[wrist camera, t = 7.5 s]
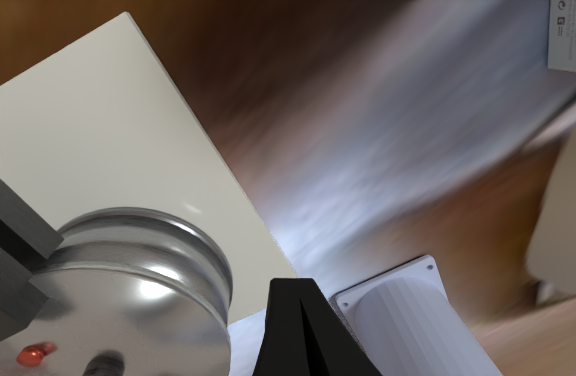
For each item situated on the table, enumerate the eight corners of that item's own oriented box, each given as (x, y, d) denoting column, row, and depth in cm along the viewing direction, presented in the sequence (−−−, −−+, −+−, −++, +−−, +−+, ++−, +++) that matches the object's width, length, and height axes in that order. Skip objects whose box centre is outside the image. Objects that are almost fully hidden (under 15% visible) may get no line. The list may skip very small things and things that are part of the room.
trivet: (304, 285, 24) (305, 290, 23) (116, 370, 25) (114, 376, 25) (128, 12, 15) (124, 11, 14) (-141, 172, 17) (-152, 176, 16)
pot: (281, 327, 25) (288, 389, 20) (148, 386, 26) (128, 455, 22) (81, 67, 15) (16, 80, 11) (-113, 180, 16) (-240, 233, 12)
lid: (287, 387, 20) (292, 430, 18) (123, 458, 21) (109, 506, 19) (6, 80, 11) (-55, 92, 8) (-253, 242, 12) (-362, 288, 10)
